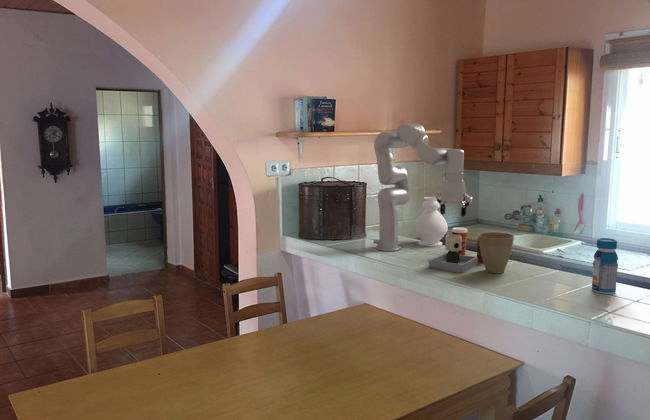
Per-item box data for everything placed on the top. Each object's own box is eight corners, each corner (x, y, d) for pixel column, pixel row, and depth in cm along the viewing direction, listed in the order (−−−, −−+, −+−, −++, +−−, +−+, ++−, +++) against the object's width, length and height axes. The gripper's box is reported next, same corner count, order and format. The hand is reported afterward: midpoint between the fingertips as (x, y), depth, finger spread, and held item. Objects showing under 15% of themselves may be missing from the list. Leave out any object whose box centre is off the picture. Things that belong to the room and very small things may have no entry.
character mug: (452, 268, 244) (452, 239, 242) (439, 265, 249) (439, 236, 247) (467, 263, 250) (467, 235, 248) (454, 261, 256) (454, 233, 254)
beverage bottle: (608, 296, 204) (612, 242, 202) (586, 290, 211) (590, 239, 208) (620, 292, 209) (624, 240, 206) (598, 287, 216) (601, 236, 213)
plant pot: (498, 265, 250) (500, 231, 248) (519, 273, 236) (521, 237, 234) (470, 268, 246) (471, 233, 243) (489, 277, 232) (491, 239, 229)
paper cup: (463, 259, 262) (463, 230, 260) (447, 257, 266) (448, 228, 264) (469, 256, 268) (470, 228, 266) (454, 254, 272) (455, 226, 270)
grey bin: (428, 267, 247) (429, 260, 247) (445, 260, 261) (445, 252, 261) (462, 273, 238) (462, 265, 238) (477, 264, 252) (477, 257, 252)
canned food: (475, 261, 258) (475, 238, 256) (478, 258, 265) (479, 235, 263) (491, 263, 254) (492, 240, 253) (495, 259, 261) (496, 236, 260)
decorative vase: (453, 243, 298) (455, 197, 294) (433, 248, 286) (434, 200, 282) (427, 239, 311) (428, 194, 307) (406, 243, 299) (407, 197, 295)
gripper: (432, 176, 248) (431, 214, 251) (469, 179, 238) (468, 218, 241) (440, 175, 254) (438, 212, 257) (476, 177, 244) (474, 216, 247)
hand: (452, 215), depth 249 cm, fingers open, 9 cm apart
